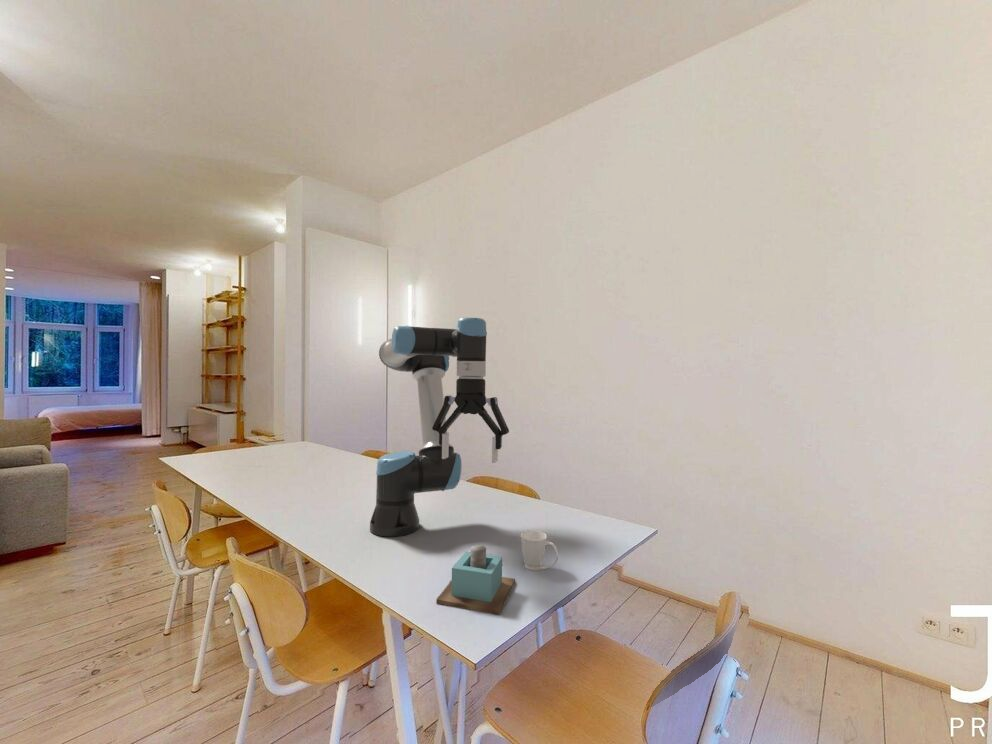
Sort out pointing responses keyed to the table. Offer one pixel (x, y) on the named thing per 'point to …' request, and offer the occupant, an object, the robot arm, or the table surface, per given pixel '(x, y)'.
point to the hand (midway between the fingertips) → (469, 460)
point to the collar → (476, 578)
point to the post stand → (492, 607)
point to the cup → (535, 549)
